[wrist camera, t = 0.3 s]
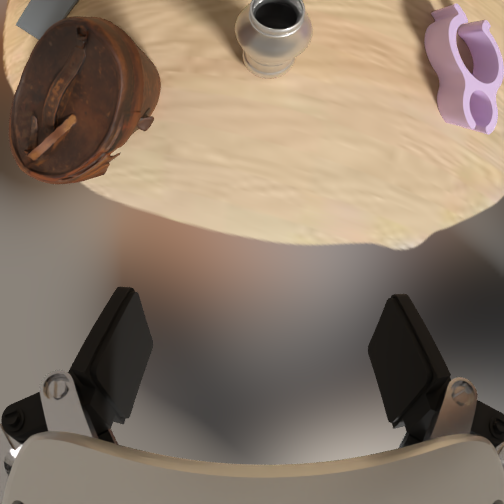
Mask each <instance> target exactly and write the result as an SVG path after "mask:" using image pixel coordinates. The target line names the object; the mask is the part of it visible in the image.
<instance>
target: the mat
mask: <svg viewBox="0 0 504 504" xmlns="http://www.w3.org/2000/svg"><path fill="white" fill-rule="evenodd" d="M77 2H78V0H31V1H30V3H29V4H28V6H27V7H26V9H25V10H24V12H23V14H22V15H21V17H20V18H19V20H18V22H17V23H16V25H17V26H18V27H20V28H21V29H23V30H25V31H26V32H28V33H29V34H31V35H32V36H34V37H35V38H37V39H38V40H39V39H40V38H41V37H42V36H43V34H44V33H45V32H46V30H47V29H48V28H49V27H51V26H52V25H53V24H55V23H56V22H58V21H60V20H62V19H65V18H66V16H67V15H68V14H69V12H70V11H71V9H72V8H73V7H74V5H75V4H76V3H77Z"/></svg>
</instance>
